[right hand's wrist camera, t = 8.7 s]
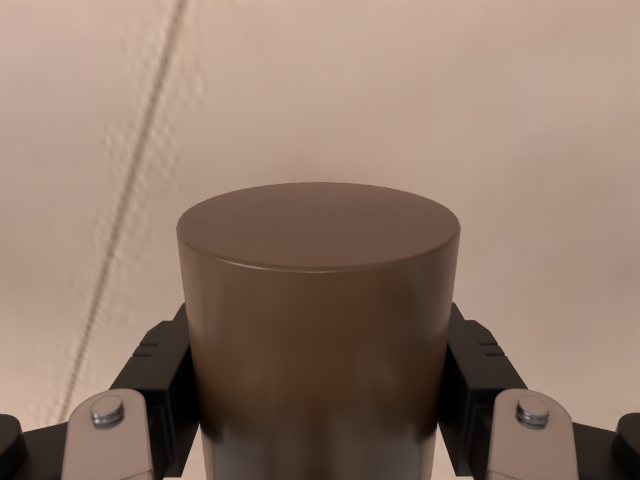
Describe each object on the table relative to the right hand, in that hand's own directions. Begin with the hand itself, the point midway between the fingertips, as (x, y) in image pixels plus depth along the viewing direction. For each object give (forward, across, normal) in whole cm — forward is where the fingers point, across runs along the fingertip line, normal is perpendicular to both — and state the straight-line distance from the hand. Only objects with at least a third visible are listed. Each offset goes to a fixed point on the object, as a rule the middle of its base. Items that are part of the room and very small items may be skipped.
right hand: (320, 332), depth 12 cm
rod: (+1, 0, -8) cm, 8 cm away
